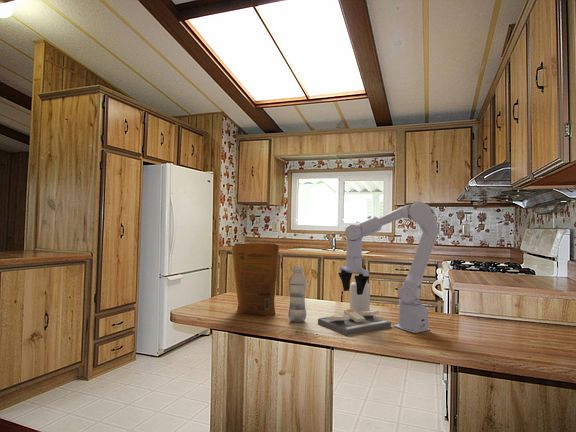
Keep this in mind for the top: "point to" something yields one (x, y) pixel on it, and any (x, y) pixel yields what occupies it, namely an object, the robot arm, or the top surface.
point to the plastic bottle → (297, 295)
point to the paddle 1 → (339, 317)
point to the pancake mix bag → (255, 277)
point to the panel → (354, 324)
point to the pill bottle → (359, 298)
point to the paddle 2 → (368, 313)
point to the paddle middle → (354, 315)
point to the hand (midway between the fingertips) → (352, 292)
